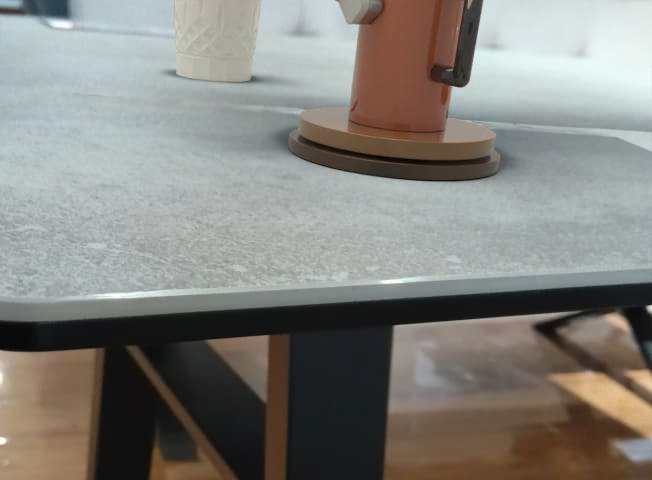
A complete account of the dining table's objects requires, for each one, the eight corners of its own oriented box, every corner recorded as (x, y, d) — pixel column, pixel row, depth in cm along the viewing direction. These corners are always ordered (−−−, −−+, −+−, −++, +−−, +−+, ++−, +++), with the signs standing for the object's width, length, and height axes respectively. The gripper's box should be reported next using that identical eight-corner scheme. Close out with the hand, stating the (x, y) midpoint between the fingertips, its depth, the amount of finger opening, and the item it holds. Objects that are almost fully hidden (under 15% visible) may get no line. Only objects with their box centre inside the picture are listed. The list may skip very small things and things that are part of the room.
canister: (262, 123, 56) (280, -115, 50) (409, 121, 62) (440, -92, 56) (374, 164, 47) (412, -121, 41) (535, 157, 53) (587, -93, 47)
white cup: (160, 75, 83) (163, -44, 78) (239, 78, 85) (246, -37, 81) (184, 87, 76) (189, -42, 72) (269, 90, 79) (278, -34, 74)
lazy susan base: (462, 143, 62) (464, 131, 61) (529, 186, 50) (532, 172, 50) (277, 130, 60) (278, 118, 60) (302, 172, 48) (303, 158, 48)
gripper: (209, -247, 47) (289, -34, 43) (494, -187, 56) (577, -9, 53) (171, -145, 52) (240, 52, 49) (438, -106, 62) (509, 60, 59)
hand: (418, 20), depth 51 cm, fingers closed on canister, 6 cm apart
